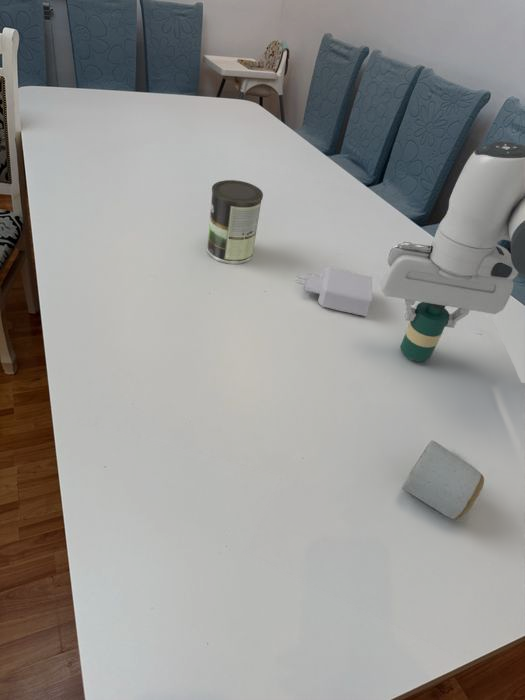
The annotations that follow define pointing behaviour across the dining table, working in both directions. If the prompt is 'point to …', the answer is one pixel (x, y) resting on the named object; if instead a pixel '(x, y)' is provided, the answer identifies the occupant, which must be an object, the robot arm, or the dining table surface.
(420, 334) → the bottle
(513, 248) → the robot arm
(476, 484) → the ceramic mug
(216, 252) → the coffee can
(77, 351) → the dining table surface
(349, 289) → the charger
